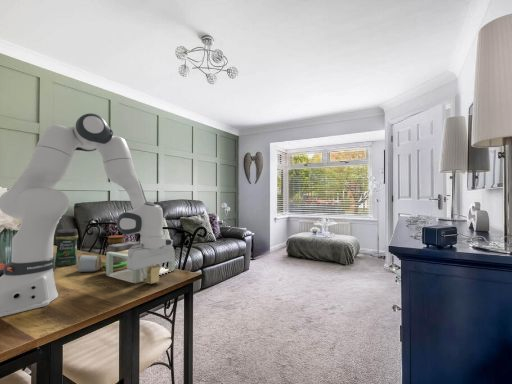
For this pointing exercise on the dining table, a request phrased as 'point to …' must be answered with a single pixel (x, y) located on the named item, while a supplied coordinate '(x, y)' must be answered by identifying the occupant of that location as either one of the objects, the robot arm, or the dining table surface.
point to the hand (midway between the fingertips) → (151, 276)
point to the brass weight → (152, 274)
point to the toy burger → (118, 260)
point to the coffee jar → (66, 247)
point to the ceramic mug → (89, 263)
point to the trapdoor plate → (122, 247)
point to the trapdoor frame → (131, 275)
